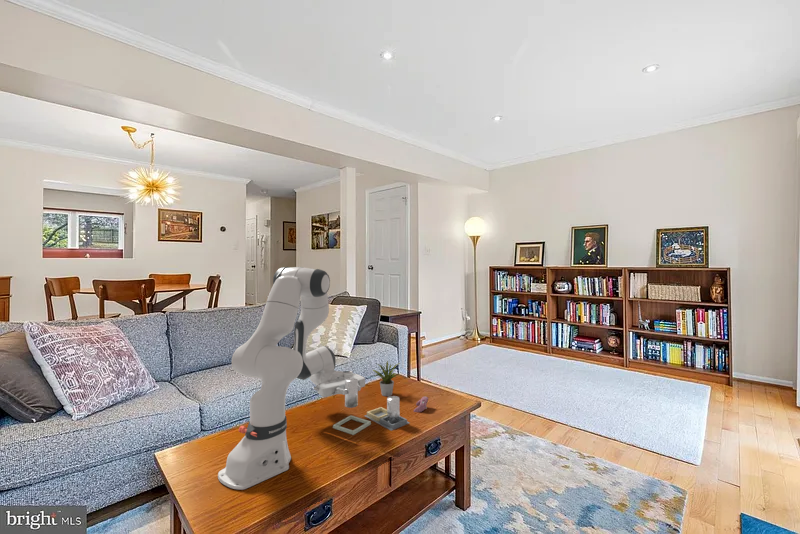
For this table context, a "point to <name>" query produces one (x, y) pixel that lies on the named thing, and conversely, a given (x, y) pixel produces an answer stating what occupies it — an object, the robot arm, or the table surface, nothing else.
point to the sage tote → (338, 427)
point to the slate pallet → (384, 419)
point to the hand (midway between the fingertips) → (352, 390)
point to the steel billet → (351, 392)
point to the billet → (393, 409)
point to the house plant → (386, 380)
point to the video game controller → (421, 404)
